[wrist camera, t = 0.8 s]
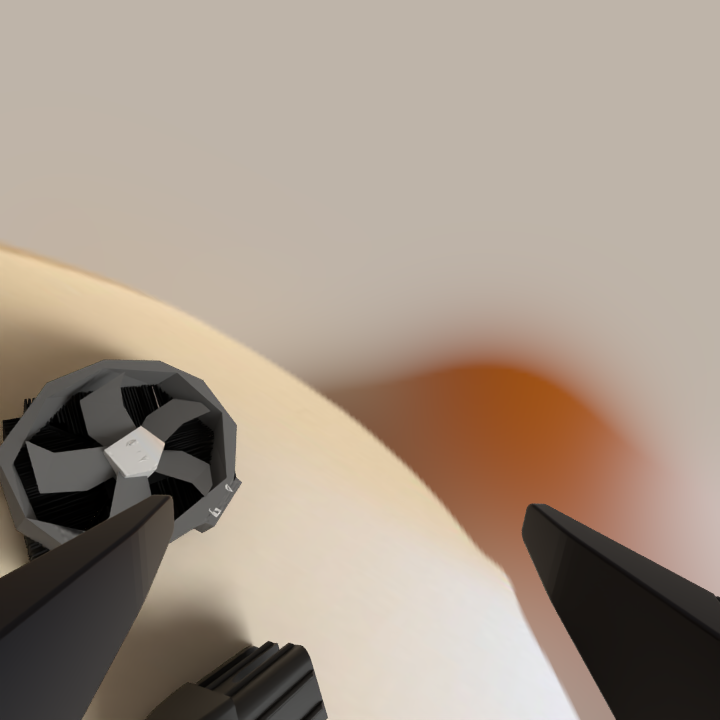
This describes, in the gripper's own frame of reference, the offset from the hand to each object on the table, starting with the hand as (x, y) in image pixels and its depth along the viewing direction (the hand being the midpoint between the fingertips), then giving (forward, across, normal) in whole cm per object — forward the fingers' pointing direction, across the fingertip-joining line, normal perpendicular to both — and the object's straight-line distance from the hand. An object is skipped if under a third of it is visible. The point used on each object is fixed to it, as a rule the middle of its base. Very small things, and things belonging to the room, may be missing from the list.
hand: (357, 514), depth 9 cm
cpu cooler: (+12, +13, +7) cm, 19 cm away
